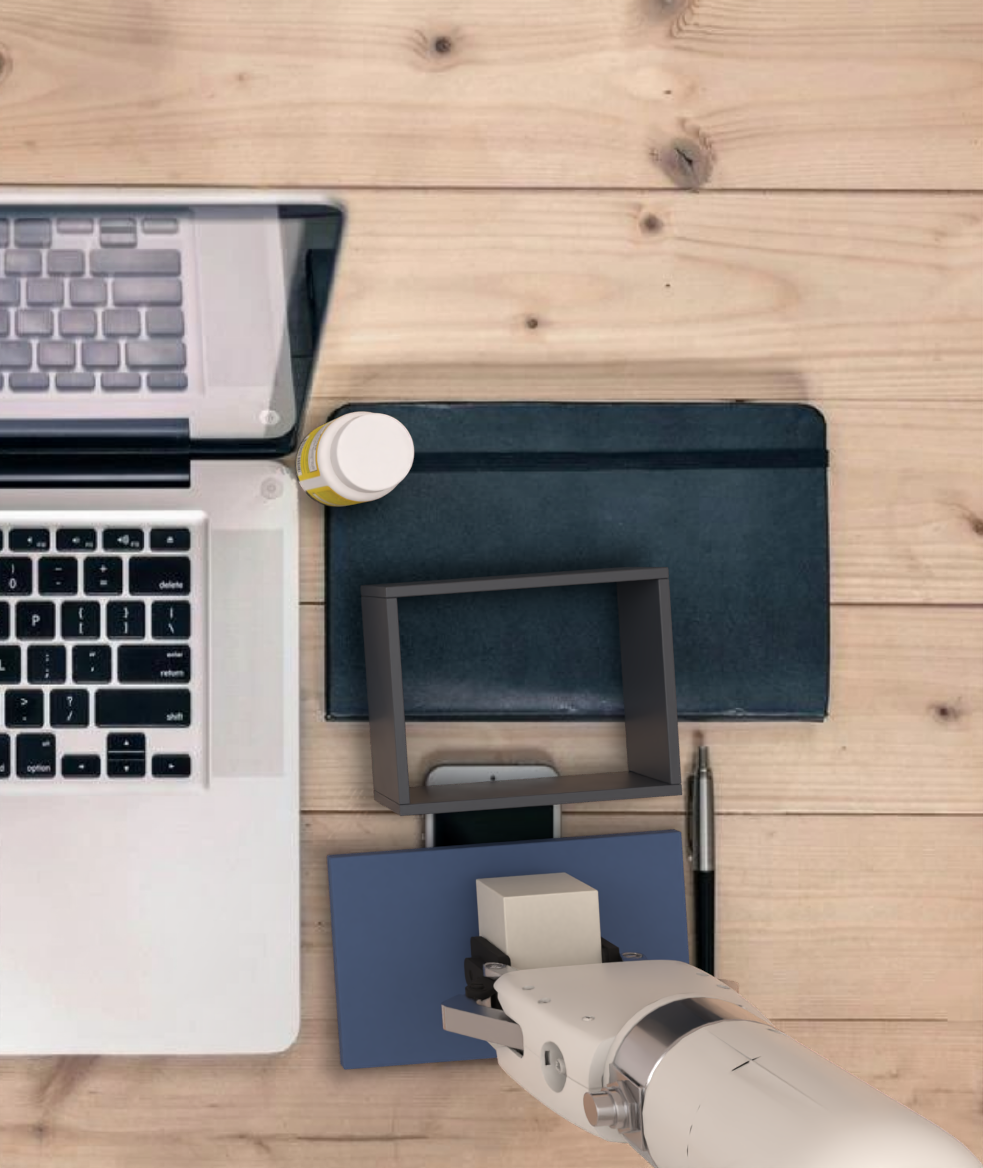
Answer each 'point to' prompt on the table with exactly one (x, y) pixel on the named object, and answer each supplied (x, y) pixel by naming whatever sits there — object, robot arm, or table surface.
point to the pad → (474, 929)
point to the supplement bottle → (354, 459)
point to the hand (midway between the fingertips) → (530, 960)
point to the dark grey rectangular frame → (646, 777)
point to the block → (540, 920)
